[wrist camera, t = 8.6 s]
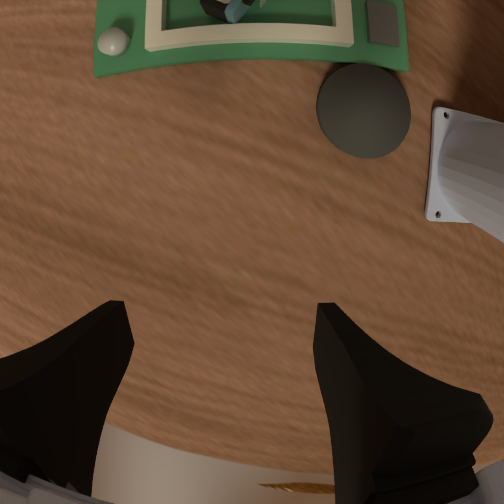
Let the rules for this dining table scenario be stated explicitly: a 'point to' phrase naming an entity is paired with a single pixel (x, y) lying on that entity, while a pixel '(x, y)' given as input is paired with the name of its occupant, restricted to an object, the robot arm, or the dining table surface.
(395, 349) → the dining table surface
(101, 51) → the circuit board
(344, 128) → the dark gray round disc
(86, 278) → the dining table surface
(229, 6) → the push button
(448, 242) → the dining table surface
